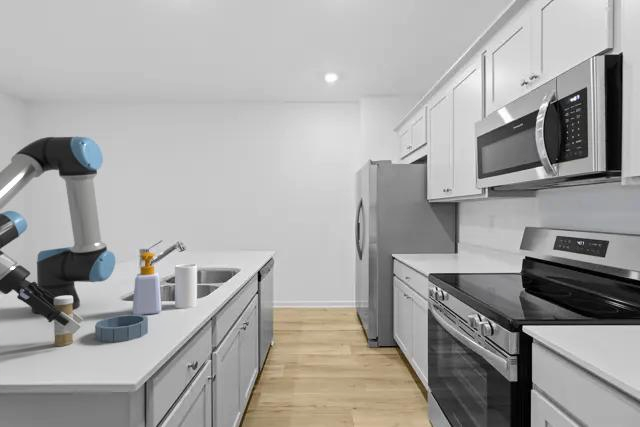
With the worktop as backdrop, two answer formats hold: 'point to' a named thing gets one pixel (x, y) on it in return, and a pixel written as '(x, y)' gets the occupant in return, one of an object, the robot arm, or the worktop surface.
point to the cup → (185, 286)
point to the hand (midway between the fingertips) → (78, 326)
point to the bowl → (121, 328)
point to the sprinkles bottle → (60, 332)
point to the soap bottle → (147, 289)
